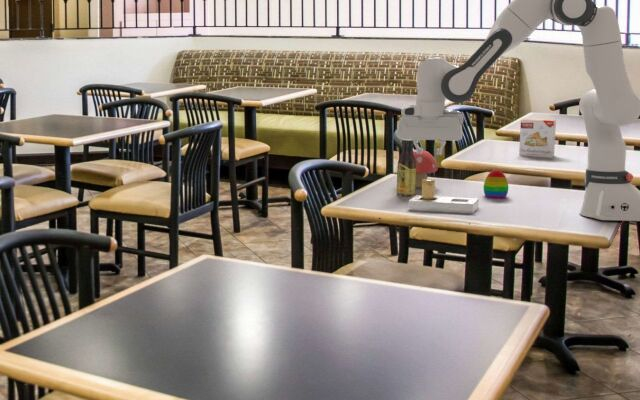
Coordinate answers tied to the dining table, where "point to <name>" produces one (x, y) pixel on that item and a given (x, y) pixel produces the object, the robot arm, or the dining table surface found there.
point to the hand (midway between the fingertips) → (429, 154)
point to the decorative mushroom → (423, 166)
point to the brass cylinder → (428, 189)
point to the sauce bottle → (406, 170)
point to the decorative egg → (496, 185)
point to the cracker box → (537, 138)
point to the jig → (444, 204)
